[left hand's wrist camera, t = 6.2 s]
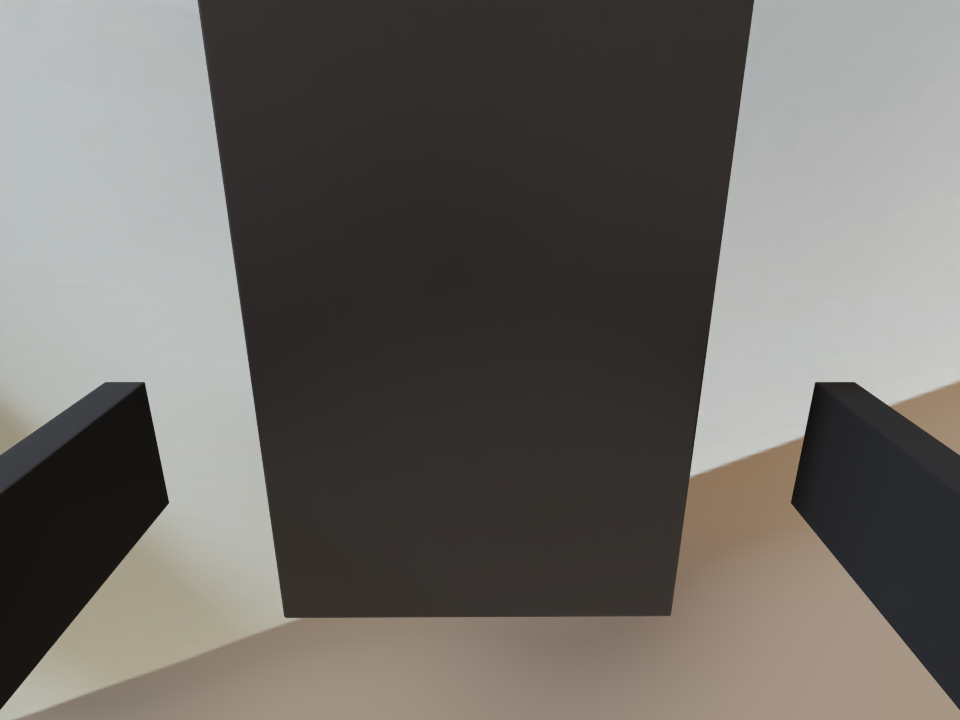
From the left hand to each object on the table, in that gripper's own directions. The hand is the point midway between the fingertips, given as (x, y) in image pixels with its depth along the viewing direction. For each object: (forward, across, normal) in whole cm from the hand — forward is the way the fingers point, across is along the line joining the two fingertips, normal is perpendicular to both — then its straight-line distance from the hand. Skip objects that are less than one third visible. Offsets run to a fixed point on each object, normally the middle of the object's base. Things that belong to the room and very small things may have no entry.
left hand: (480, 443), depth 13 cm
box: (+8, 0, -11) cm, 14 cm away
